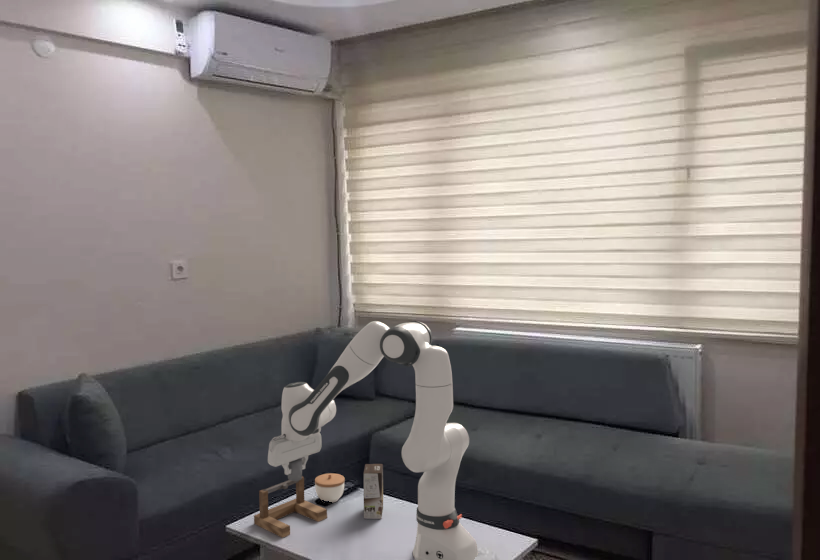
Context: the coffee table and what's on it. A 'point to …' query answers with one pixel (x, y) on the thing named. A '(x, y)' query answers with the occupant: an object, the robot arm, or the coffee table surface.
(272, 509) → the wooden crossbar stand
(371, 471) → the coffee box
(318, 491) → the lidded jar
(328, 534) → the coffee table surface
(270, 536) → the coffee table surface
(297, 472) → the grey cylinder
